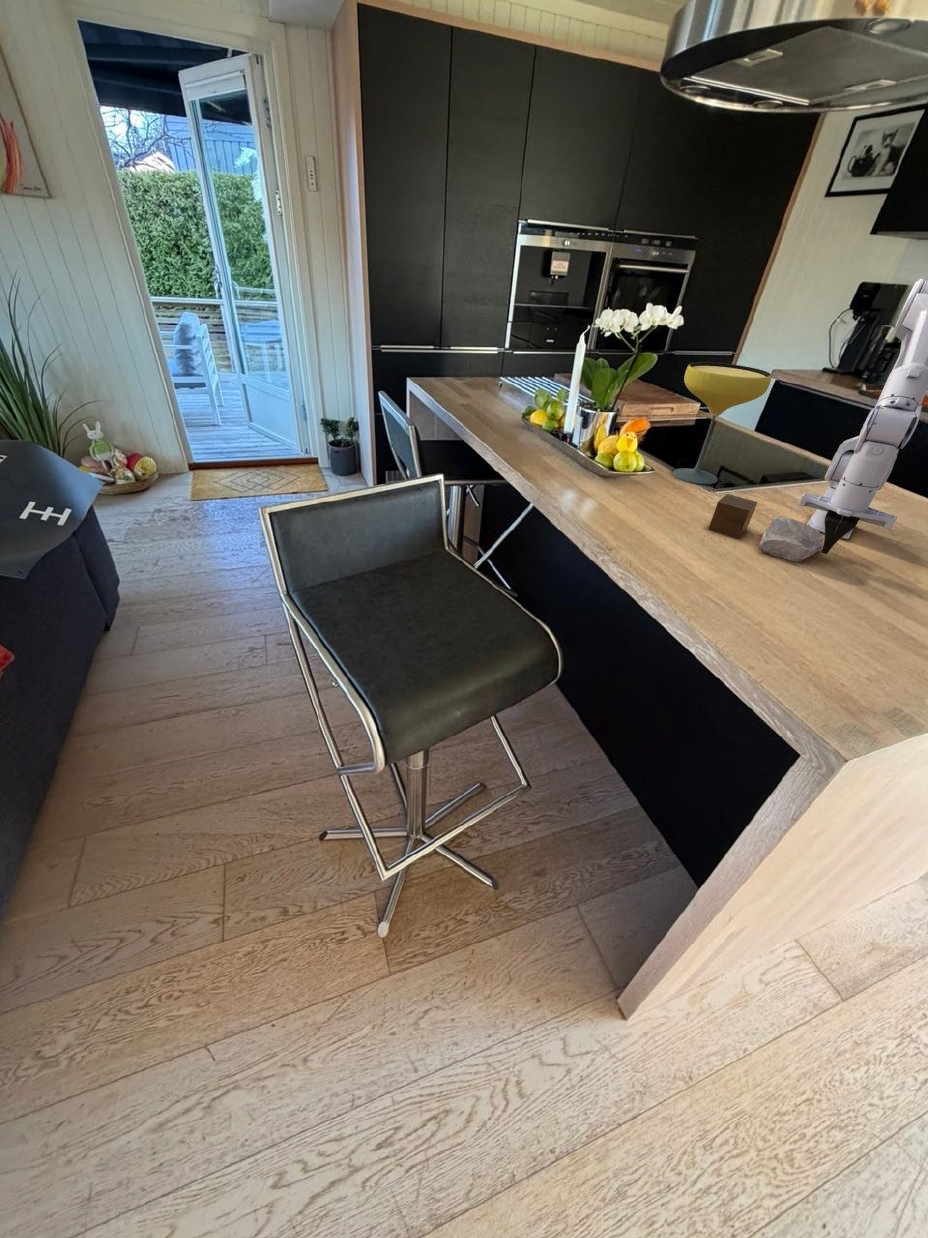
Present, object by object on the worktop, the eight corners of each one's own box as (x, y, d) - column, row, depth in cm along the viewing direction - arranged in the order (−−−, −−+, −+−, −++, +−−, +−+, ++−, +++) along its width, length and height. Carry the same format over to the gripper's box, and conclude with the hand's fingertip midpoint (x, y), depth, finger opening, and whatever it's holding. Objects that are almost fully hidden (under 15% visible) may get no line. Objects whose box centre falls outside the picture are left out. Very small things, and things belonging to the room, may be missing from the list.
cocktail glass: (737, 474, 136) (775, 369, 121) (727, 496, 123) (769, 381, 108) (667, 459, 142) (695, 359, 128) (650, 478, 130) (680, 368, 115)
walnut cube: (717, 520, 110) (727, 493, 107) (746, 529, 108) (757, 502, 104) (708, 529, 107) (718, 501, 103) (738, 538, 104) (749, 510, 100)
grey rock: (813, 552, 104) (764, 528, 107) (829, 533, 101) (779, 509, 104) (803, 577, 96) (751, 551, 100) (820, 557, 93) (766, 530, 96)
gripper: (809, 475, 91) (778, 545, 99) (909, 499, 84) (866, 573, 92) (817, 466, 95) (786, 534, 103) (912, 488, 88) (871, 559, 96)
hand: (824, 551), depth 98 cm, fingers closed
